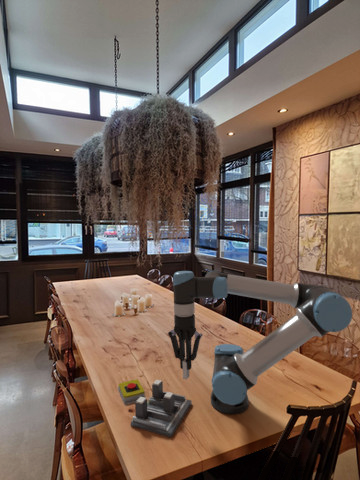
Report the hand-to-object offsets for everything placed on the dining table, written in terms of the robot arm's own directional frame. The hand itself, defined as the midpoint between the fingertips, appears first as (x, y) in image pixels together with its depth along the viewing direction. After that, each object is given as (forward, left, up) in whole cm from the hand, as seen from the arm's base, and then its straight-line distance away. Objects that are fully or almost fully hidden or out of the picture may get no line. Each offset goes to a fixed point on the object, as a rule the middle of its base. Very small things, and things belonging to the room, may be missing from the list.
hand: (186, 377), depth 105 cm
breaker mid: (+7, 0, -15) cm, 16 cm away
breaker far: (+15, -6, -15) cm, 22 cm away
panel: (+10, 0, -16) cm, 19 cm away
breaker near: (+15, +7, -15) cm, 22 cm away
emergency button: (+29, -8, -17) cm, 35 cm away
